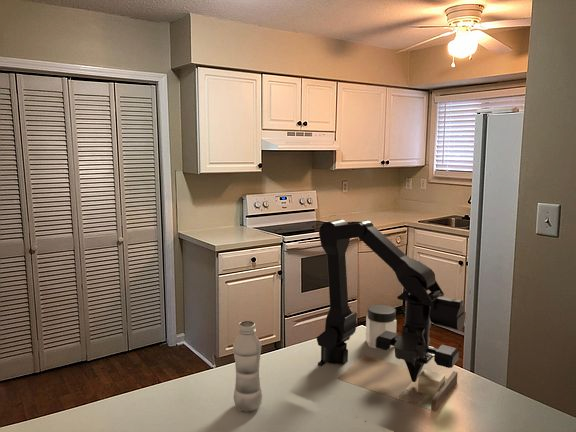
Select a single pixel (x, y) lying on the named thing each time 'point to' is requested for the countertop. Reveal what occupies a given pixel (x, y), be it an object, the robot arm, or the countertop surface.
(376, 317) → the jar
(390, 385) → the board
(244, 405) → the plastic bottle
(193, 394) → the countertop surface
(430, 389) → the block
